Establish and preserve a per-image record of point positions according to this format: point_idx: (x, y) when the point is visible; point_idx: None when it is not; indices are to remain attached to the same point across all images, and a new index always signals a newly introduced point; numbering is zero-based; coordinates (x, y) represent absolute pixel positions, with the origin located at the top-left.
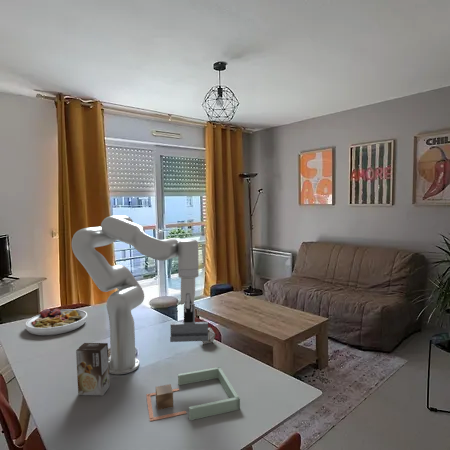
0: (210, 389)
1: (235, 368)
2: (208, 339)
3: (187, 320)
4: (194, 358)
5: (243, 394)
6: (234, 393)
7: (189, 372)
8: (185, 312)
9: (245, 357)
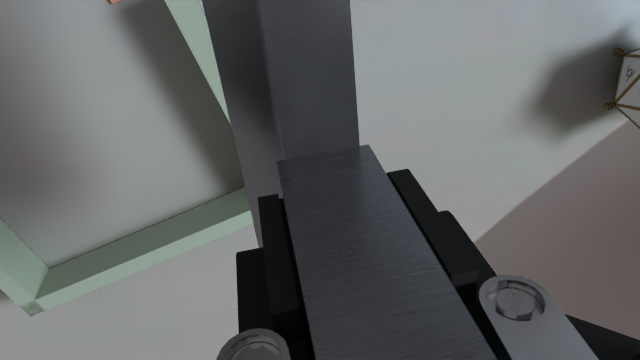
0: (161, 160)
1: None
2: (622, 99)
3: (239, 260)
4: (471, 24)
5: (152, 282)
6: (64, 294)
7: (214, 60)
8: (275, 323)
9: None
